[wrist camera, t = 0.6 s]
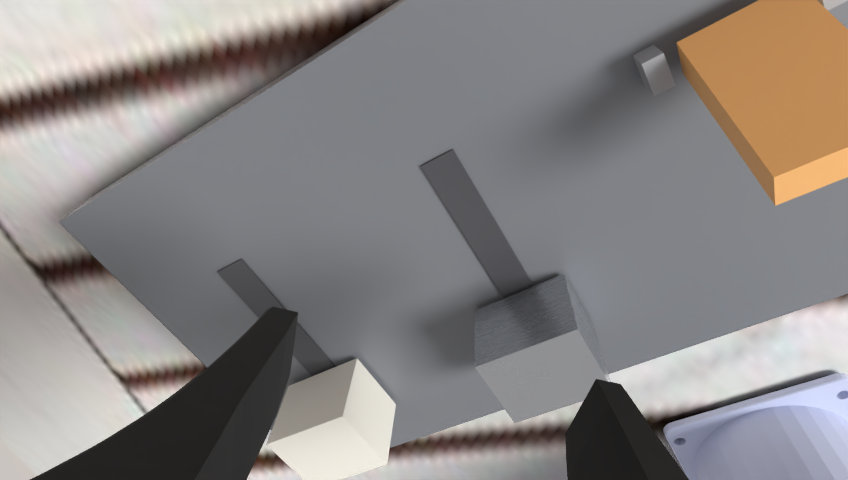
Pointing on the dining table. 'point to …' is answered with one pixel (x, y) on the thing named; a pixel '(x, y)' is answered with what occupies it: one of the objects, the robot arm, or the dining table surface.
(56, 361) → the dining table surface
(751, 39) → the orange toggle
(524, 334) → the grey slider
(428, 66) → the control panel
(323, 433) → the cream slider
